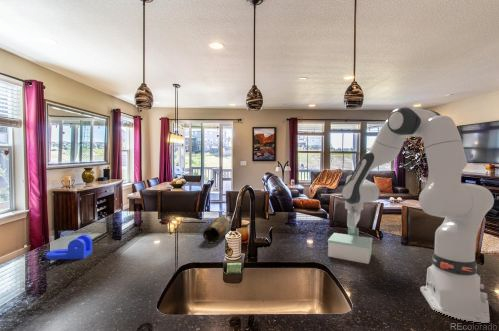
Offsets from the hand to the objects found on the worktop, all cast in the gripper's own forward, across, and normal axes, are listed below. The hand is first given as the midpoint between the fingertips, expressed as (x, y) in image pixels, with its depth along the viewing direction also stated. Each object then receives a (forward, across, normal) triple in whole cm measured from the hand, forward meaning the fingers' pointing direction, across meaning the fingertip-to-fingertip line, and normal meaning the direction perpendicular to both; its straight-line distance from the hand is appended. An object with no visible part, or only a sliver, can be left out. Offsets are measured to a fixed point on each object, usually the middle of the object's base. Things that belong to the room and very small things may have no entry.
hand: (353, 232), depth 140 cm
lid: (+3, -8, 0) cm, 8 cm away
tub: (+9, -10, 0) cm, 13 cm away
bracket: (+10, -78, +116) cm, 140 cm away
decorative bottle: (+9, -9, +76) cm, 77 cm away
